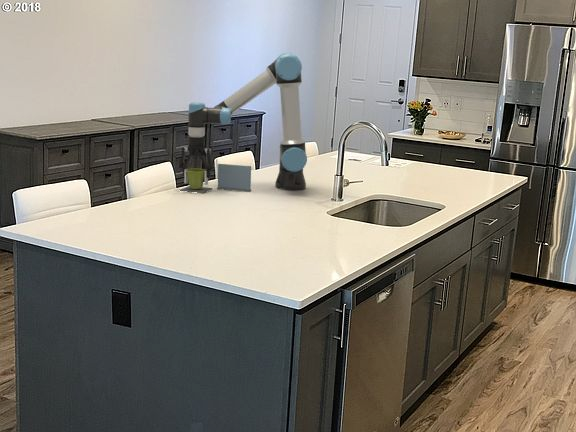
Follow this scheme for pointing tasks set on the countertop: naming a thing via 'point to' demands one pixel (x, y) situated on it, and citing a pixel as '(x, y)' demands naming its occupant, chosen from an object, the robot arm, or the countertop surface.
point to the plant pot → (196, 178)
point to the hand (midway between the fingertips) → (196, 183)
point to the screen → (234, 177)
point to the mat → (196, 190)
